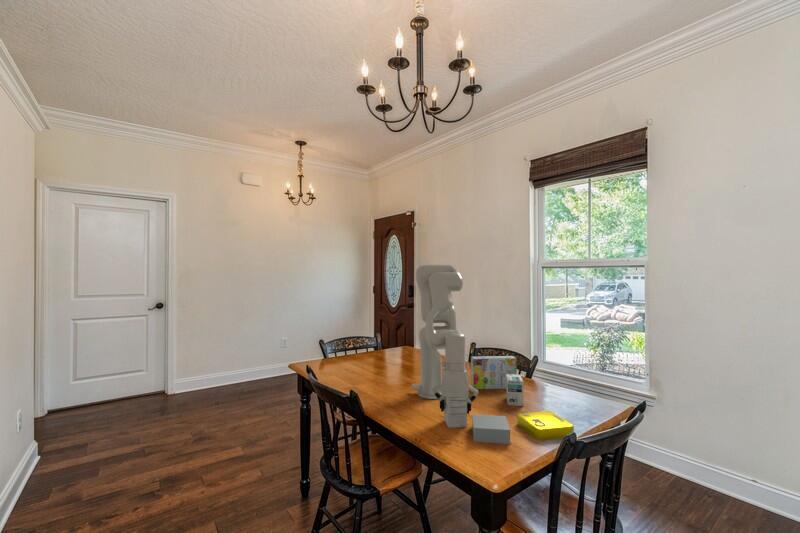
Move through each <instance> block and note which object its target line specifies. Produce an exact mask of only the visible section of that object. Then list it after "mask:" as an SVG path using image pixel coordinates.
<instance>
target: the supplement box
mask: <svg viewBox="0 0 800 533" xmlns="http://www.w3.org/2000/svg"><path fill="white" fill-rule="evenodd" d="M443 399H444V411H443V420H444V422H445V424H446V426H447V429H448V428H450V429H452V428H453V429H454V428H467V427H468V424H467V423H468V414H467V398H463V394H461V393H450V392H447V397H444V398H443Z"/></svg>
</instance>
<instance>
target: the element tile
mask: <svg viewBox="0 0 800 533" xmlns="http://www.w3.org/2000/svg"><path fill="white" fill-rule="evenodd" d="M516 418H517V421H516V422H517V427H519V428H520V429H522V430H523V431H524V432H525V433H527V435H529V436H530V437H531V438H532V439H534V440H536V441H542V442H543V441H552V440H562V439H563V440H564V439H565V438H564V437H565V436H566V435H567V434H570V433H574V434H575V432H574V428H575V426H574V424H573V423H571V422H569V421H568V420H566V419H565V418H563V417H561V416H560V415H559V414H557V413H555V412H554V411H551V410H544V411H543V410H542V411H532V412H531V411H530V412H522V413H521V412H520V413H517V416H516Z"/></svg>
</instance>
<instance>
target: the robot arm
mask: <svg viewBox="0 0 800 533" xmlns="http://www.w3.org/2000/svg"><path fill="white" fill-rule="evenodd" d="M415 279H416V284H417V286H418V290H419V293H420V294H419V296H420V313H421V314H420V316H421V320H422V321H423V323H425V326H424V327H421V328H420V330H419V332H418V340H419V347H420V383H419V384H414V383H413V384H412V383H411V389H412V390H413V391H417V396H418V397H419V398H421V399H426V400H427V399H428V400H438V401H439V409H440V410H441V411H440V412H443V413H444V397H447V392H450V393H461V394H463V398H467V415H470V412H471V411H472V402H474V401H475V400H476V399H477V397H478V395H479V389H475V388H473V387H472V386H471V385H470V381H469V374H468V369H466V336H465V335H464V333H462V332H461V331H460V330H459V329H457V315H456V314H457V313H456V309H455V307H454V302H453V297H452V292H460V291H461V290H462V289H463V284H464V283H463V282H464V281H463V278H462V274H461V273H460V272H459V271H458V270H457V269H456V268H455V267H454V265H450V264H449V265H448V264H423V265H421V266H418V267H417V268H416V272H415ZM434 324H444V325H434ZM438 350H444V354H445V355H444V358H445V360H444V361H442V355H441V353H440V352H439V351H438ZM442 367H444V368H442ZM442 369H443V370H442ZM470 392H471V393H473V394H472V395H471V396H470V395H469V394H470Z"/></svg>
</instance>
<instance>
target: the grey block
mask: <svg viewBox="0 0 800 533" xmlns="http://www.w3.org/2000/svg"><path fill="white" fill-rule="evenodd" d="M471 420H472V421H471V422H472V427H471V428H472V435H473V436H472V437H473V443H474V442H475V443H489V444H504V445H511V427H510V425H509V422H508V419H507V416H505V415H487V414H472V419H471Z"/></svg>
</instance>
